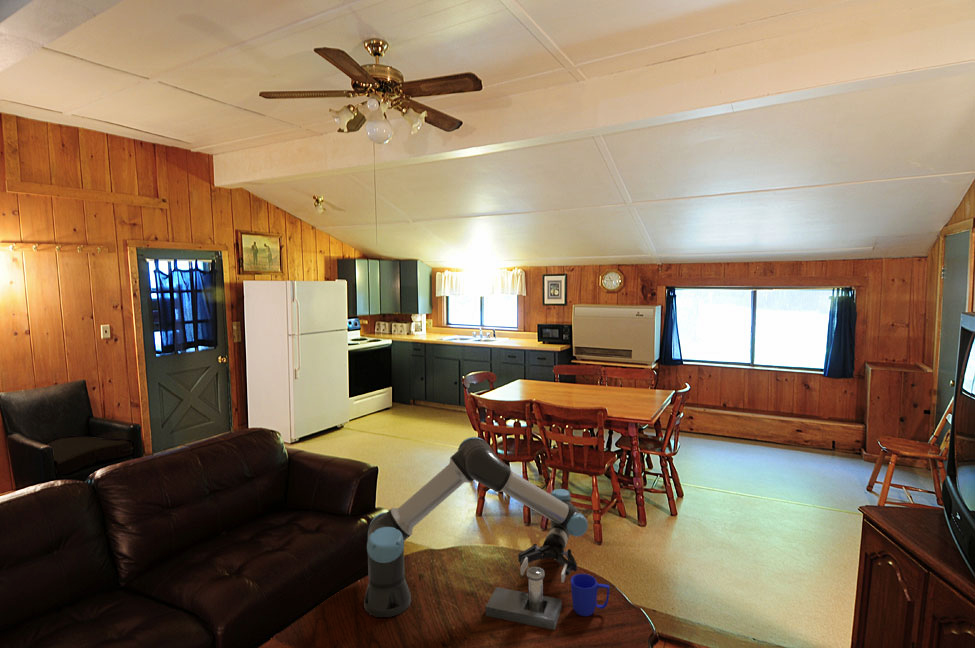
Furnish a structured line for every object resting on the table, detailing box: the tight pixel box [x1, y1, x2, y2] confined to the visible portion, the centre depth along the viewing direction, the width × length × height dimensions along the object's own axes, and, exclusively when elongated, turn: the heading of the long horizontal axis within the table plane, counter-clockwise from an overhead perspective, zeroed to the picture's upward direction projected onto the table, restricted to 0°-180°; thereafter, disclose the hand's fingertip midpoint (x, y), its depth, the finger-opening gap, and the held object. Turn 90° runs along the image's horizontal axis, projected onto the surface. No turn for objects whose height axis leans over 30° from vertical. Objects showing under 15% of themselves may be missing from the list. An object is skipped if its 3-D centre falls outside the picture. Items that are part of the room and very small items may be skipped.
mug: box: [570, 573, 610, 617], centre depth 161 cm, size 8×12×10 cm
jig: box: [485, 586, 562, 631], centre depth 161 cm, size 22×11×3 cm, turn 71°
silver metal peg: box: [526, 566, 546, 613], centre depth 160 cm, size 6×6×14 cm
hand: (541, 574), depth 165 cm, fingers open, 13 cm apart
